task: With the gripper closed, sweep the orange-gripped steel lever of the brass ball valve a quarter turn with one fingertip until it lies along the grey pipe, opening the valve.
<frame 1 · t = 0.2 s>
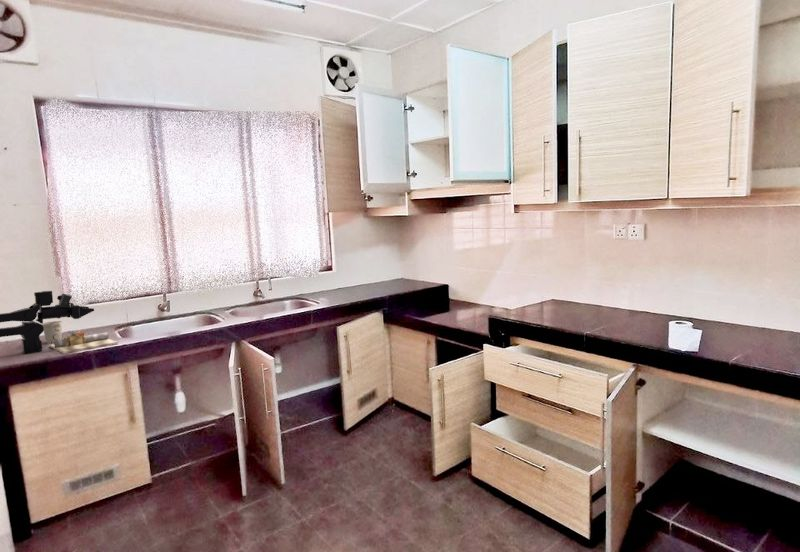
hand: (91, 308, 241), 17 cm above the worktop, tool horizontal, fingers open, 9 cm apart
valve board: (75, 346, 232), on the worktop
valve lever: (77, 333, 228), point 7 cm above the worktop, hinge at 0.0°
mug: (51, 342, 246), on the worktop
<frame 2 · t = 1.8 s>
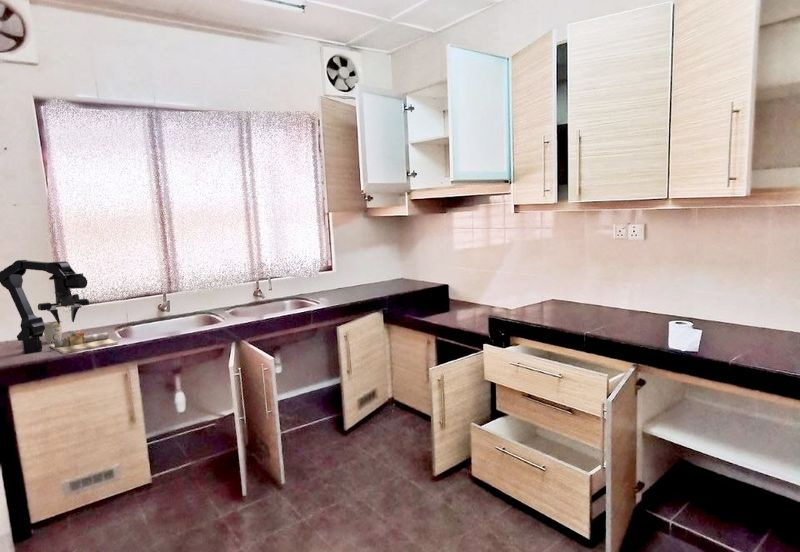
hand: (66, 323, 221), 13 cm above the worktop, tool pointing down, fingers open, 5 cm apart
nothing on the worktop moved.
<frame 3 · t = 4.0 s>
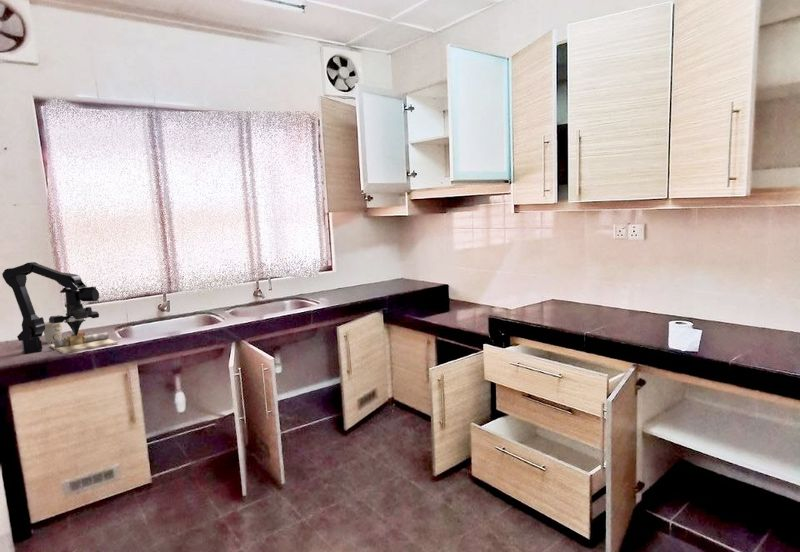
hand: (76, 335, 224), 7 cm above the worktop, tool pointing down, fingers closed
valve lever: (77, 333, 228), point 7 cm above the worktop, hinge at 1.4°, touching gripper
everything else where it was.
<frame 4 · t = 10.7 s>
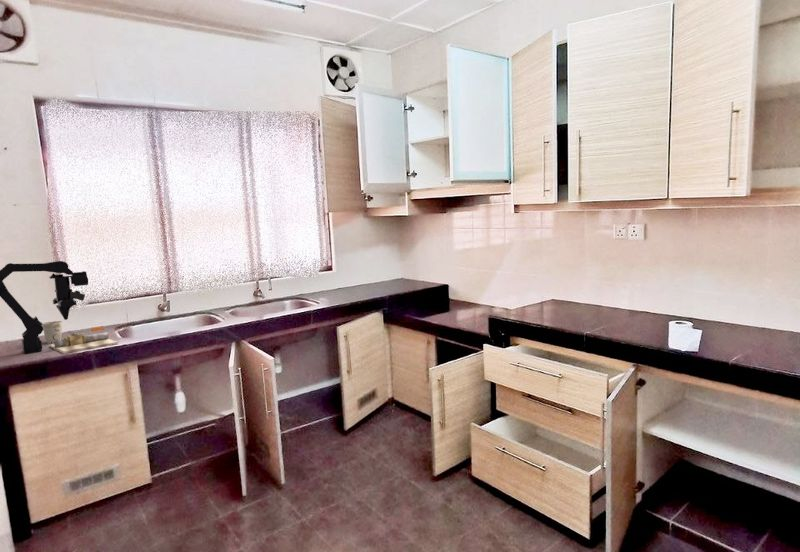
hand: (66, 319, 232), 13 cm above the worktop, tool pointing down, fingers closed
valve lever: (87, 330, 235), point 7 cm above the worktop, hinge at 80.6°
everything else where it was.
at the end: valve lever at +81° (first picture: +0°); mug moved 0.2 cm from its start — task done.
